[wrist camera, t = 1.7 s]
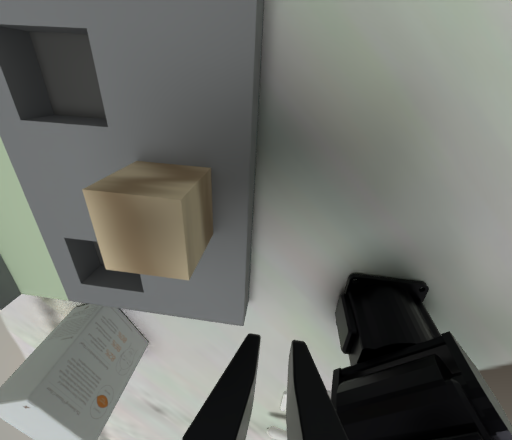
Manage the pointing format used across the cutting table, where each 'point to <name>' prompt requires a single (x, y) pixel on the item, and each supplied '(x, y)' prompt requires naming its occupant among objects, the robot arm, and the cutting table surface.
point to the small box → (74, 376)
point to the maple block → (152, 218)
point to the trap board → (125, 141)
